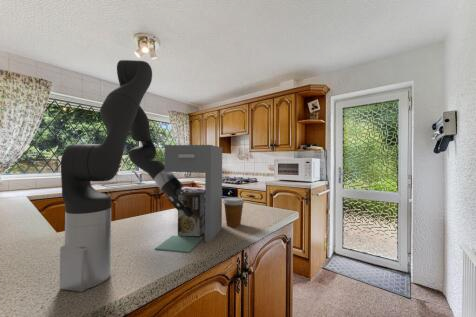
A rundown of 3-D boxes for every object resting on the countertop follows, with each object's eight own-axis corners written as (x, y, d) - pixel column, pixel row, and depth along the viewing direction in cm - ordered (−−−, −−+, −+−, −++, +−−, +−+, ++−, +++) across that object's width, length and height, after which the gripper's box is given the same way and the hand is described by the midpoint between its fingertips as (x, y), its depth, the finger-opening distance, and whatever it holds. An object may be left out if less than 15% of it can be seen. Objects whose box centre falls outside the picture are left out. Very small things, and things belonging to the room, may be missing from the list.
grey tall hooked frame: (209, 243, 74) (210, 144, 74) (162, 240, 77) (163, 144, 78) (221, 228, 91) (222, 147, 91) (182, 225, 94) (183, 147, 94)
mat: (189, 252, 67) (189, 251, 67) (154, 249, 69) (154, 248, 69) (202, 238, 79) (202, 237, 79) (172, 236, 81) (172, 235, 81)
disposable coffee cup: (219, 227, 93) (220, 199, 93) (227, 221, 102) (227, 196, 102) (240, 229, 90) (240, 201, 90) (246, 223, 99) (246, 197, 99)
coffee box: (204, 231, 86) (204, 192, 87) (199, 237, 80) (200, 194, 80) (182, 230, 87) (183, 191, 88) (176, 235, 81) (177, 193, 81)
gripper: (165, 178, 78) (194, 211, 76) (182, 175, 92) (207, 203, 90) (152, 191, 79) (180, 225, 77) (170, 187, 93) (195, 215, 91)
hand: (195, 213), depth 84 cm, fingers closed on coffee box, 6 cm apart
